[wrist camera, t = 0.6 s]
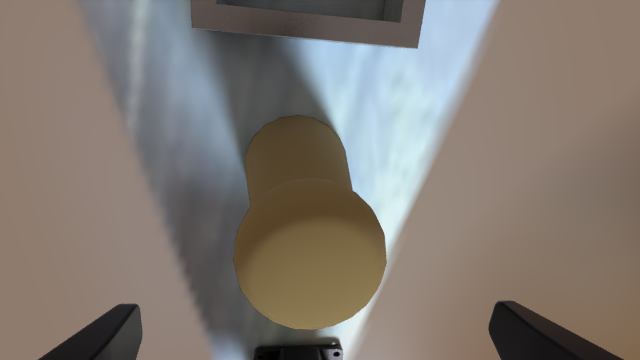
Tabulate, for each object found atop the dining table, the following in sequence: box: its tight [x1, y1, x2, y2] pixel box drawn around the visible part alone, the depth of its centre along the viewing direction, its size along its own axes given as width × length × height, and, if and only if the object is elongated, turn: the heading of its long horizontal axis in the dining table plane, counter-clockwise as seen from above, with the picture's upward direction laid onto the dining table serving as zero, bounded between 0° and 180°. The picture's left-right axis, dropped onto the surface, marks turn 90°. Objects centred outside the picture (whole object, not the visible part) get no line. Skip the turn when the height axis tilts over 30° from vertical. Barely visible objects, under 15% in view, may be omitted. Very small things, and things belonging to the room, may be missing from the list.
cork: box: [233, 115, 387, 330], centre depth 16 cm, size 6×6×11 cm
